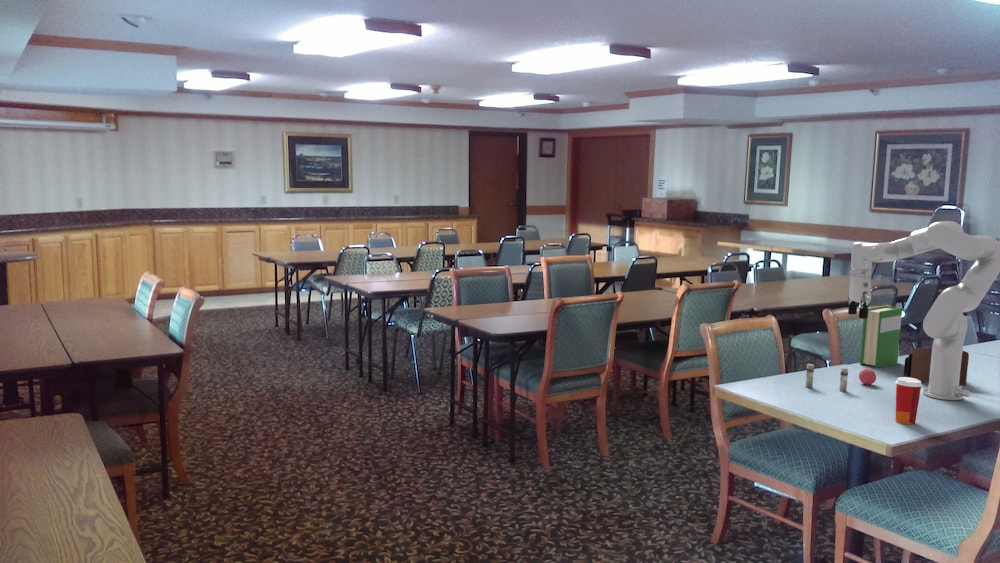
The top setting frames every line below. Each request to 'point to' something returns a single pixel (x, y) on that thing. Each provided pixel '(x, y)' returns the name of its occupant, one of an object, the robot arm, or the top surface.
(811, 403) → the top surface
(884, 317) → the hardback book
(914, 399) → the paper cup
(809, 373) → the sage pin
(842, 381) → the ivory pin
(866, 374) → the ball
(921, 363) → the letter holder
